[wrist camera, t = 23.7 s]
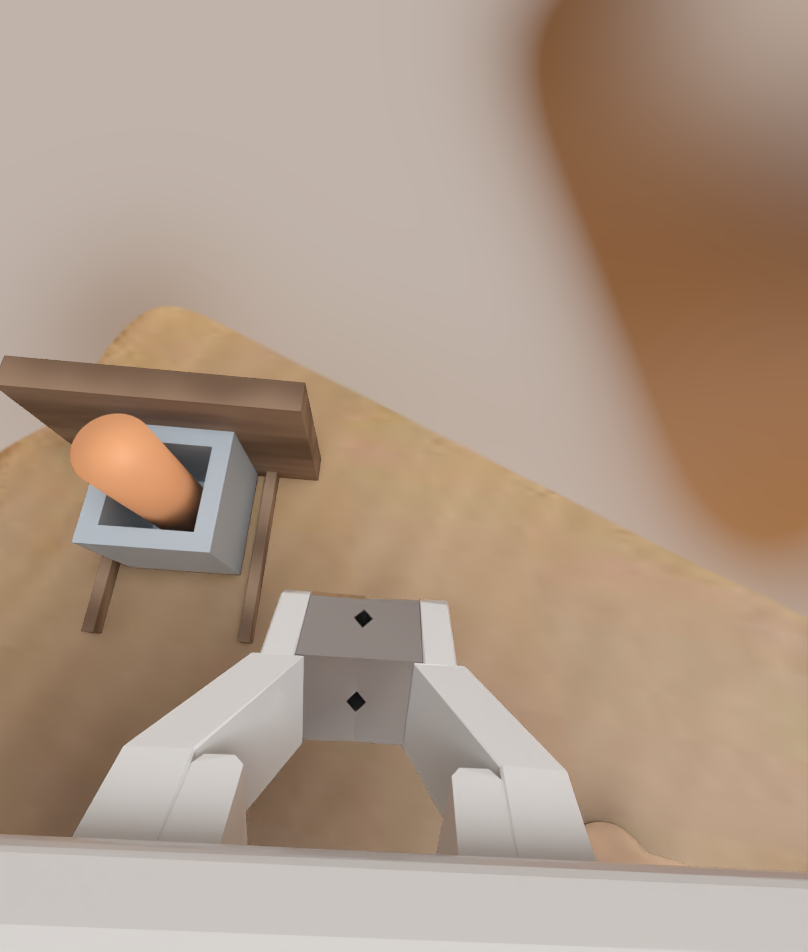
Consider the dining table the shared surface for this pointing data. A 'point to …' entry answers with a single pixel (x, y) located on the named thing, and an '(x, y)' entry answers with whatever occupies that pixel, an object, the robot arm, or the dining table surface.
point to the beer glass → (620, 846)
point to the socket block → (218, 520)
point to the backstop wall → (177, 405)
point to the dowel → (136, 471)
